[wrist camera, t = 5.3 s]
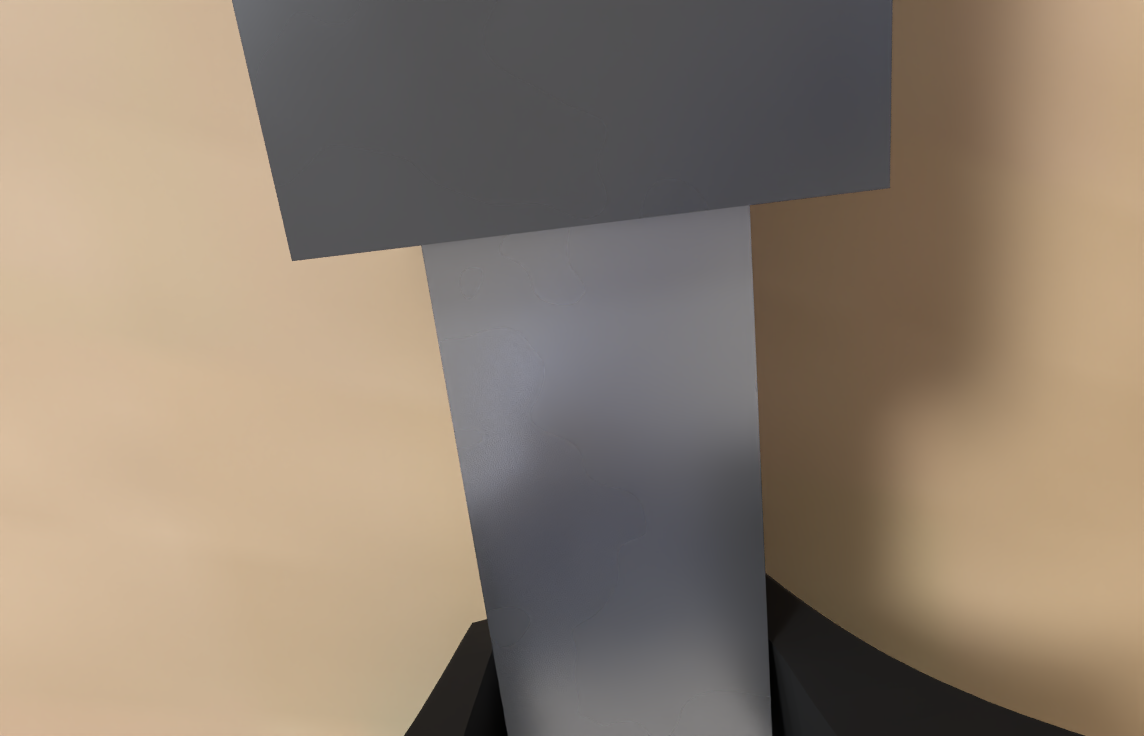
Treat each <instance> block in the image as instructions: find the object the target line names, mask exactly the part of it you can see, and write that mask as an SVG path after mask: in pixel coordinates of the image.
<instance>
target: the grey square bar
mask: <svg viewBox="0 0 1144 736" xmlns="http://www.w3.org/2000/svg"><path fill="white" fill-rule="evenodd" d="M421 247H422V252H423V258H424V264H425V269H426V275H427V281H428V286H429V292H430V297H431V303H432V309H433V314H434V320H435V326H436V331H437V337H438V343H439V348H440V354H441V360H442V365H443V371H444V377H445V382H446V388H447V394H448V399H449V405H450V411H451V416H452V422H453V428H454V433H455V439H456V445H457V450H458V456H459V462H460V467H461V473H462V479H463V484H464V490H465V496H466V501H467V507H468V513H469V518H470V524H471V529H472V535H473V541H474V546H475V552H476V558H477V563H478V569H479V575H480V580H481V586H482V592H483V597H484V603H485V609H486V614H487V620H488V626H489V631H490V637H491V643H492V648H493V654H494V660H495V665H496V671H497V677H498V682H499V688H500V694H501V699H502V705H503V711H504V716H505V722H506V728H507V733H508V736H772V722H771V699H770V675H769V651H768V627H767V604H766V580H765V556H764V533H763V509H762V485H761V461H760V438H759V414H758V390H757V367H756V343H755V319H754V295H753V272H752V248H751V224H750V205H747V206H739V207H731V208H722V209H714V210H706V211H698V212H690V213H681V214H673V215H665V216H657V217H649V218H641V219H632V220H624V221H616V222H608V223H600V224H591V225H583V226H575V227H567V228H559V229H551V230H542V231H534V232H526V233H518V234H510V235H501V236H493V237H485V238H477V239H469V240H461V241H452V242H444V243H436V244H428V245H421Z"/></svg>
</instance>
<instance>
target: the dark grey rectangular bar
mask: <svg viewBox="0 0 1144 736" xmlns="http://www.w3.org/2000/svg"><path fill="white" fill-rule="evenodd" d="M232 3H233V7H234V11H235V16H236V20H237V24H238V29H239V33H240V37H241V42H242V46H243V50H244V55H245V59H246V63H247V68H248V72H249V76H250V81H251V85H252V89H253V94H254V98H255V102H256V107H257V111H258V115H259V120H260V124H261V128H262V133H263V137H264V141H265V146H266V150H267V154H268V159H269V163H270V167H271V172H272V176H273V180H274V185H275V189H276V193H277V198H278V202H279V206H280V211H281V215H282V219H283V224H284V228H285V232H286V237H287V241H288V245H289V250H290V254H291V258H292V261H297V260H305V259H313V258H321V257H330V256H338V255H346V254H354V253H362V252H371V251H379V250H387V249H395V248H403V247H411V246H420V245H428V244H436V243H444V242H452V241H461V240H469V239H477V238H485V237H493V236H501V235H510V234H518V233H526V232H534V231H542V230H551V229H559V228H567V227H575V226H583V225H591V224H600V223H608V222H616V221H624V220H632V219H641V218H649V217H657V216H665V215H673V214H681V213H690V212H698V211H706V210H714V209H722V208H731V207H739V206H747V205H755V204H763V203H771V202H780V201H788V200H796V199H804V198H812V197H821V196H829V195H837V194H845V193H853V192H861V191H870V190H878V189H886V188H890V144H891V72H892V0H232Z"/></svg>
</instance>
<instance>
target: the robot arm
mask: <svg viewBox="0 0 1144 736" xmlns="http://www.w3.org/2000/svg"><path fill="white" fill-rule="evenodd" d="M765 580H766V604H767V627H768V651H769V675H770V699H771V722H772V736H1084V735H1081V734H1078V733H1075V732H1072V731H1068V730H1066V729H1063V728H1060V727H1057V726H1054V725H1051V724H1048V723H1045V722H1042V721H1039V720H1036V719H1034V718H1031V717H1028V716H1025V715H1022V714H1019V713H1017V712H1014V711H1011V710H1009V709H1006V708H1003V707H1001V706H998V705H996V704H993V703H990V702H988V701H985V700H983V699H981V698H978V697H976V696H974V695H971V694H969V693H966V692H964V691H962V690H959V689H957V688H955V687H952V686H950V685H948V684H945V683H943V682H941V681H939V680H937V679H934V678H932V677H930V676H928V675H926V674H924V673H922V672H919V671H917V670H916V669H914V668H912V667H910V666H908V665H906V664H904V663H902V662H900V661H898V660H896V659H894V658H892V657H890V656H888V655H886V654H885V653H883V652H881V651H879V650H877V649H876V648H874V647H872V646H871V645H869V644H867V643H865V642H864V641H862V640H861V639H859V638H857V637H856V636H854V635H852V634H851V633H849V632H848V631H846V630H844V629H843V628H841V627H840V626H838V625H837V624H835V623H834V622H832V621H830V620H829V619H827V618H826V617H824V616H823V615H822V614H820V613H819V612H817V611H816V610H814V609H813V608H812V607H810V606H809V605H807V604H806V603H804V602H803V601H802V600H800V599H799V598H797V597H796V596H795V595H793V594H792V593H791V592H789V591H788V590H787V589H785V588H784V587H783V586H782V585H780V584H779V583H778V582H776V581H775V580H774V579H772V578H771V577H770V576H769V575H767V574H766V573H765ZM404 736H508V733H507V728H506V722H505V716H504V711H503V705H502V699H501V694H500V688H499V682H498V677H497V671H496V665H495V660H494V654H493V648H492V643H491V637H490V631H489V626H488V620H487V619H486V620H482V621H478V622H474V623H472V625H471V626H470V628H469V629H468V631H467V633H466V634H465V636H464V638H463V639H462V641H461V643H460V645H459V646H458V648H457V650H456V652H455V653H454V655H453V657H452V659H451V660H450V662H449V664H448V666H447V667H446V669H445V671H444V672H443V674H442V676H441V678H440V679H439V681H438V683H437V684H436V686H435V688H434V689H433V691H432V693H431V694H430V696H429V697H428V699H427V701H426V702H425V704H424V706H423V707H422V709H421V711H420V712H419V714H418V715H417V717H416V718H415V720H414V722H413V723H412V725H411V726H410V728H409V729H408V730H407V732H406V733H405V735H404Z"/></svg>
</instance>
